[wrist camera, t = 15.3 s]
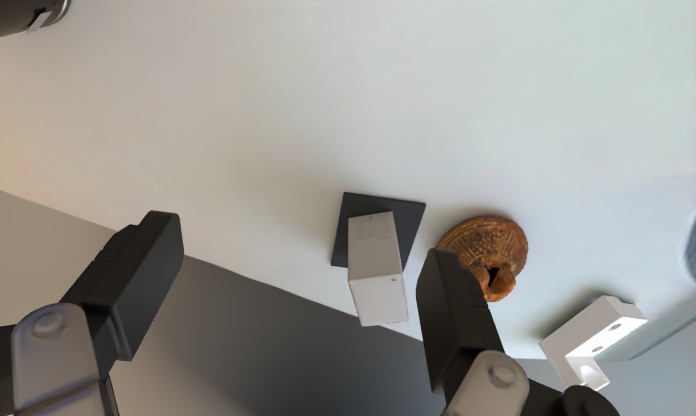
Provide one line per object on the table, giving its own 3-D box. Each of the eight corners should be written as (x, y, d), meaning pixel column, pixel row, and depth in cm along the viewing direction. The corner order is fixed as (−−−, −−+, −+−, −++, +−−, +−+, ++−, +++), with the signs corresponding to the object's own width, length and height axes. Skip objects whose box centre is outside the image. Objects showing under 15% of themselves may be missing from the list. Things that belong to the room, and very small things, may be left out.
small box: (347, 216, 46) (346, 279, 37) (393, 209, 45) (402, 272, 37) (359, 262, 51) (360, 328, 42) (400, 257, 50) (410, 323, 41)
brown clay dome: (416, 260, 51) (424, 303, 45) (476, 198, 45) (494, 238, 39) (481, 291, 54) (496, 334, 48) (546, 237, 48) (572, 279, 42)
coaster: (331, 263, 51) (330, 265, 51) (344, 192, 44) (344, 193, 44) (401, 272, 52) (402, 274, 52) (425, 203, 45) (426, 205, 45)
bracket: (565, 345, 63) (596, 390, 57) (538, 343, 60) (568, 391, 54) (630, 299, 56) (672, 346, 50) (603, 294, 53) (645, 344, 47)
